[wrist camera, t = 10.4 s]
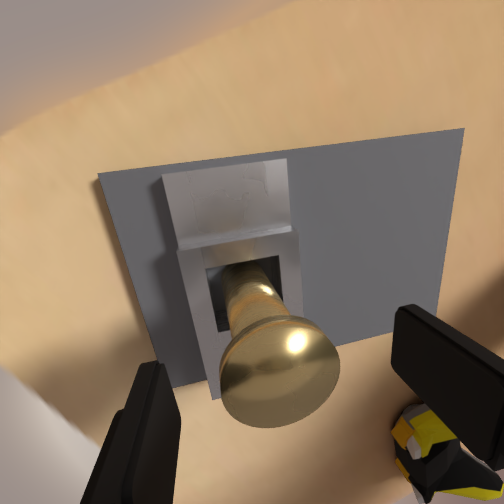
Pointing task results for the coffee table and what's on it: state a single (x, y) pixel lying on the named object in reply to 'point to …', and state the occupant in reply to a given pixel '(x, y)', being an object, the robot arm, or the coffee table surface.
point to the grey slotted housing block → (232, 241)
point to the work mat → (307, 238)
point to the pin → (271, 354)
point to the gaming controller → (439, 459)
